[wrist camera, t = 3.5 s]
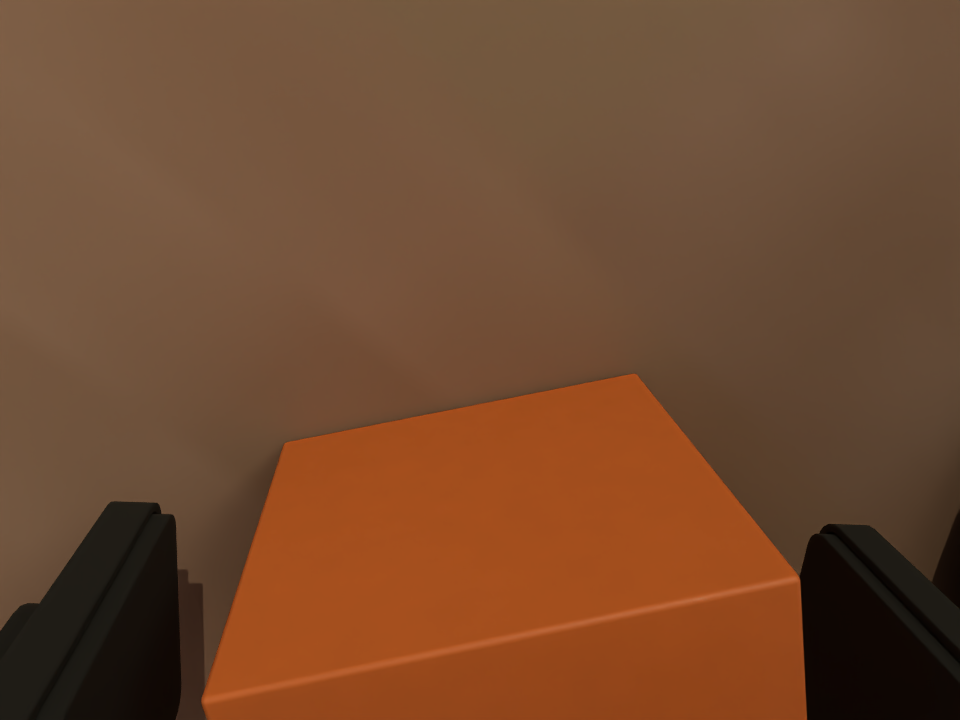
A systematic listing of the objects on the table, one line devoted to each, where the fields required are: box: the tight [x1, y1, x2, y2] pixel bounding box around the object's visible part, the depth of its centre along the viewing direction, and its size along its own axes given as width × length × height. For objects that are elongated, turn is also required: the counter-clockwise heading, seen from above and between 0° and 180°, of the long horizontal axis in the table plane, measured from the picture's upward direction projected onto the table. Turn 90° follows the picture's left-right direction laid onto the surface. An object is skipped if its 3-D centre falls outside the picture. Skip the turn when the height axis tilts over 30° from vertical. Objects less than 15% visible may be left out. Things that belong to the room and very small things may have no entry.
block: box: [201, 374, 807, 720], centre depth 10 cm, size 5×5×5 cm
